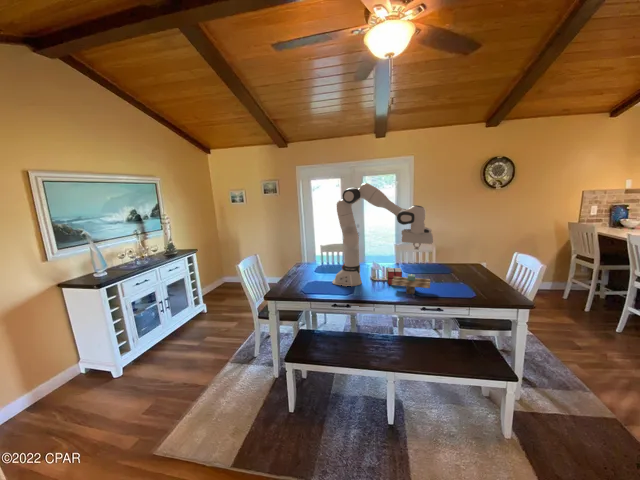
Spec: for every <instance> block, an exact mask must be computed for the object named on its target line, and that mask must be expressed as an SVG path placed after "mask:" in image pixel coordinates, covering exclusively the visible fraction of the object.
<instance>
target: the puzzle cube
mask: <svg viewBox="0 0 640 480" xmlns="http://www.w3.org/2000/svg"><path fill="white" fill-rule="evenodd" d="M386 269H387V271H386V272H387V273H386V274H387V276H386V277H387V279H386V280H387V285H391V286H393V285H392V280H393V277H403V271H402V268H401V267H387V268H386Z"/></svg>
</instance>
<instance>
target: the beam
mask: <svg viewBox="0 0 640 480" xmlns="http://www.w3.org/2000/svg"><path fill="white" fill-rule="evenodd" d="M391 286H399V287H400V286H401V287H405V288H406V289H405V291H406V292H405V294H406V295H415V292H416V288H424V289H431V279H430V278H420V277H419V278H417V277H415V281H408V276H407V277H405V276H404V277H403V276H402V277H393V280H392V285H391Z"/></svg>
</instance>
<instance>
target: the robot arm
mask: <svg viewBox="0 0 640 480" xmlns="http://www.w3.org/2000/svg"><path fill="white" fill-rule="evenodd" d="M360 199H363V200H365V201H366V202H368V203H369V204H370V205H371V206H374V207H377V208H383V209H384V210H387V211H388V212H390V213H392V214H393V215H395V216H396V220H397V222H398V223H399V224H400V225H403V226H405V225H409V224H410V228H408V229H407V228H404V229H402V230H401V242H402V243H407V244H408V243H409V244H412V246H413V247H414V250H416V251H417V250H418V251H419V250H420V247H421V246H422V245H421V244H426V245H427V244H429V245H430V244H431V245H432V244H433V243H434V236H433V233H432V232H433V231H432V229H431V228H429V227H426V226H425V225H426V224H425V219H426V209H425V207H423V206H422V205H416V204H415V205H412V206H410V207H408V208H402V207H400V206H399V205H397V204H396V203H394V202H393V201H391V200H390V199H389V198H388V196H387V195H386V194H385V193H384V192H383V191H381V190H380V189H378V188H377V187H376V186H374V185H372V184H369V183H367V182H364V183H362V184H361V185H360V186H359V187H356V186H352V187H351V186H350V187H349V188H346V189H345V190H344V191H343V192H342V199H339V200H338V201H337V202H336V214H337V217H338V221H339V227H340V230H341V232H342V235H343V243H342V245H343V254H344V255H343V256H344V263H343V264H342V266H341V270H340V271H338V272H337V273H336V274H335V278H334V279H332V282H331V283H333V284H332V285H336V286H341V285H342V287H347V286H351V287H356V286H360V285H361V284H363V282H362V278H361V264H360V244H359V243H360V242H359V241H360V238H359V233H358V229H357V225H356V220H355V215H354V213H353V208H352V206H353V204H355V203H357V202H358V201H360ZM416 244H418V246H416Z"/></svg>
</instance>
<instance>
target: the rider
mask: <svg viewBox="0 0 640 480" xmlns="http://www.w3.org/2000/svg"><path fill="white" fill-rule="evenodd" d="M407 278H408V281H415V278H416V274H413V273H408V274H407Z"/></svg>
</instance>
